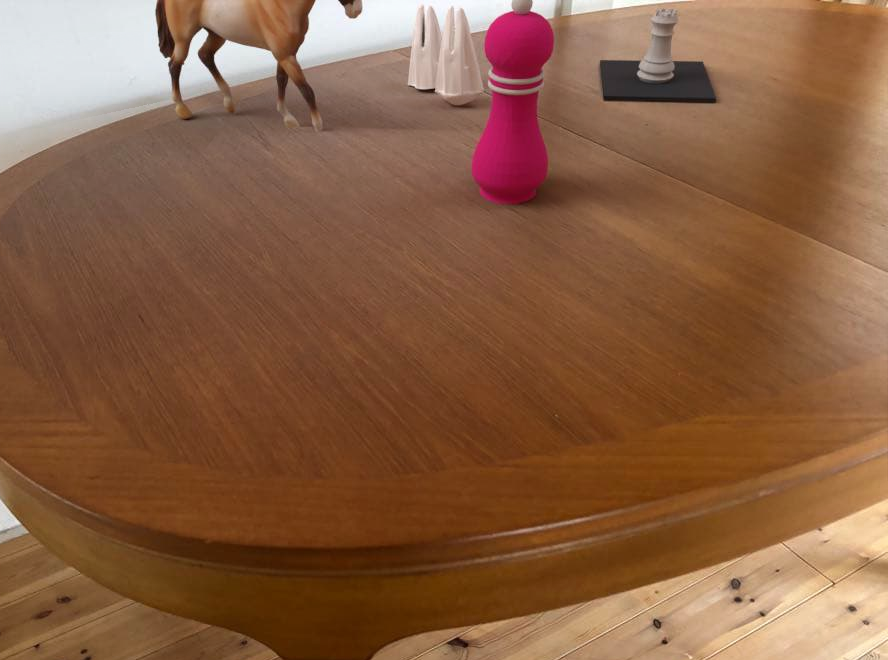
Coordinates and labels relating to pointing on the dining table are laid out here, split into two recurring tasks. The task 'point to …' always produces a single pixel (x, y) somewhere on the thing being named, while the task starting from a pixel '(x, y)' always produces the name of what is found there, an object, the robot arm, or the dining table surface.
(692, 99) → the placemat
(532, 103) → the pepper mill
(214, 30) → the horse figurine
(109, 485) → the dining table surface
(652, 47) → the rook chess piece
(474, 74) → the shaker set
